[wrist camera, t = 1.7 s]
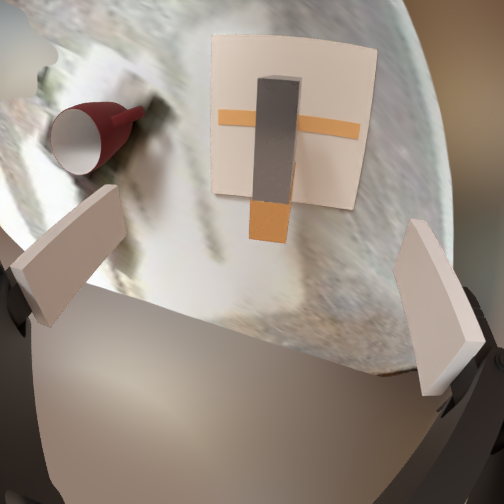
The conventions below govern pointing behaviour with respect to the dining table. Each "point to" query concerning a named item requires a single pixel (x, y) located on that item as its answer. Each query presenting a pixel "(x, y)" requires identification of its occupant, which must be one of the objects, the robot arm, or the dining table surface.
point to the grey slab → (274, 156)
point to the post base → (310, 115)
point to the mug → (91, 134)
